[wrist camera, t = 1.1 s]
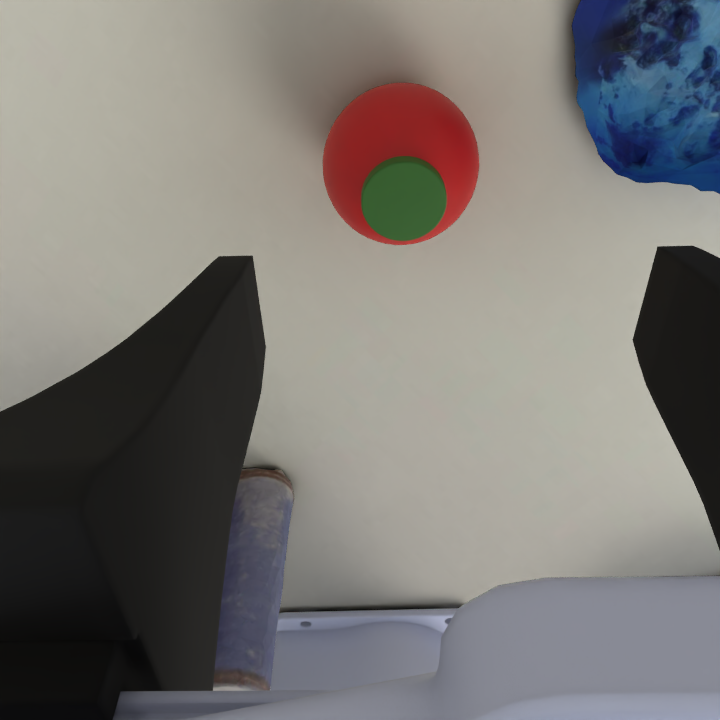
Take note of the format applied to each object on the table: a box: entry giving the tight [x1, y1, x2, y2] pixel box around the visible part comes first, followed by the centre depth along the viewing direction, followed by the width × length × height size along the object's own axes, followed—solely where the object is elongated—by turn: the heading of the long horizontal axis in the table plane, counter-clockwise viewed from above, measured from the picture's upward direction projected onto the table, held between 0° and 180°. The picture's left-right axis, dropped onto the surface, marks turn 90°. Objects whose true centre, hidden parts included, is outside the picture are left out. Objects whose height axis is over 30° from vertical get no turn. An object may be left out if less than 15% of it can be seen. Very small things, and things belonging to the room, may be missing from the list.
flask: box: [213, 468, 294, 691], centre depth 25 cm, size 9×3×11 cm, turn 106°
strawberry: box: [323, 83, 479, 245], centre depth 18 cm, size 4×4×4 cm
